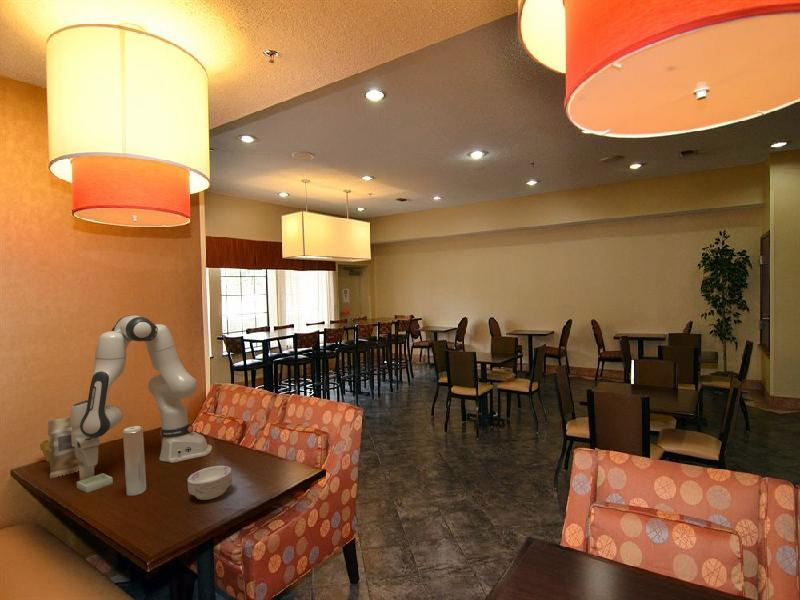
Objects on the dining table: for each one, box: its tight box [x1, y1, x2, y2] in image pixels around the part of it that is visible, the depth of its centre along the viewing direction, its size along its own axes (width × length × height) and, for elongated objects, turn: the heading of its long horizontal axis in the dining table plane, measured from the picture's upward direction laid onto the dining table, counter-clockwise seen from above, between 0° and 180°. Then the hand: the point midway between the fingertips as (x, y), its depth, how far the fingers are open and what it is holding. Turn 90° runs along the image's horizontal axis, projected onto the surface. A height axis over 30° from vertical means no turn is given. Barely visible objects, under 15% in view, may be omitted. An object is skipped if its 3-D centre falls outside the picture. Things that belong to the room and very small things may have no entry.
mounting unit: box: [47, 416, 97, 479], centre depth 187 cm, size 16×10×23 cm, turn 127°
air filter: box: [122, 425, 147, 497], centre depth 161 cm, size 6×6×25 cm
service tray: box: [76, 472, 114, 494], centre depth 169 cm, size 9×9×2 cm
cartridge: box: [78, 462, 95, 481], centre depth 176 cm, size 5×5×7 cm
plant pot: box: [39, 439, 50, 462], centre depth 201 cm, size 10×10×10 cm
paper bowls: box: [187, 465, 233, 501], centre depth 156 cm, size 15×15×8 cm
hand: (86, 471), depth 176 cm, fingers closed on cartridge, 5 cm apart
